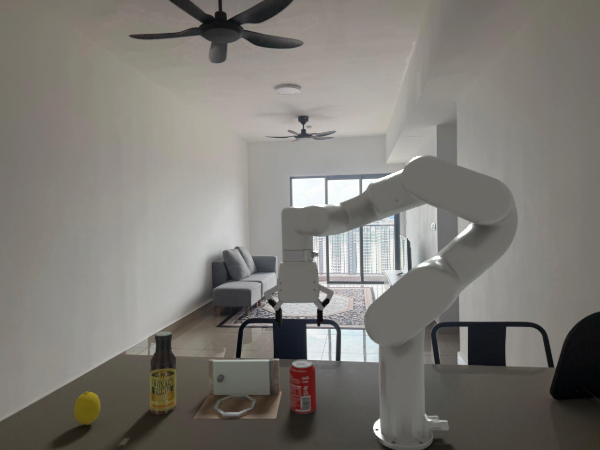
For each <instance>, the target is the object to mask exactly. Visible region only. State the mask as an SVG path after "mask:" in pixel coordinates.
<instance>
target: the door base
mask: <svg viewBox="0 0 600 450" xmlns="http://www.w3.org/2000/svg"><path fill="white" fill-rule="evenodd" d="M214 360H216V359H215V358H209V359H208V362H207V363H208V383H209V385H208V386H209V387H208V389H209V390H208V391H209V393H208V395H207V396H206V398H205V400H204V401H203V403H202V404H201V406H200V408H199V409H198V411H197V413H196V414H195V416H194V417H193V419H194V420H200V419H201V420H203V419H204V420H214V419H215V420H216V419H217V420H224V419H225V420H238V419H239V420H247V419H249V420H276V419H277V417H278V411H279V406H280V402H281V398H282V392H283V391H281V382H280V376H281V375H280V358H272V360H274V386H275V394H274V395H248V396H250V397H252V398H253V399H255V400H256V405H255V408H254V411H253V412H251V413H248V414H246V415H244V416H241V417H221V416H220V415H219V414H217V413H216V412H214V407H215V405H216V403H217V401H218V400H220V399H222V398H225V397H228V396H230V395H214V386H213V361H214ZM251 404H252V403H251V402H249V401H247V400H246V399H232V400H230V401H227V402H225V403H222V404H221V405H220V407H219V409H221V410H222V411H223V412H240V411H243V410H245V409H248V408H250V407H251Z"/></svg>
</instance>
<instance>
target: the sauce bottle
mask: <svg viewBox="0 0 600 450" xmlns="http://www.w3.org/2000/svg"><path fill="white" fill-rule="evenodd" d="M172 339H173V332H172V331H168V330H166V331H159V332H156V333H155V334H154V341H155V351H154V353H153V355H152V357H151V359H150V370H149V371H150V373H149V408H150V409H149V412H150V413H151V414H153V415H165V414H168V413H171V412H173V411H174V410H175V409H176V405H177V357H176V356H175V354H174V352H173V351H172Z"/></svg>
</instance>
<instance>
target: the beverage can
mask: <svg viewBox="0 0 600 450" xmlns="http://www.w3.org/2000/svg"><path fill="white" fill-rule="evenodd" d="M316 385H317V384H316V367H315V366H314V364H313V361H311V360H309V359H304V358H303V359H301V358H300V359H296V360H294V361H293V362H292V364H291V366H290V368H289V392H290V394H289V395H290V400H289V401H290V409H291V411H292V412H294V413H297V414H302V415H303V414H305V415H306V414H310V413H312V412H315V410H316V408H317V388H316V387H317V386H316Z"/></svg>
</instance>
